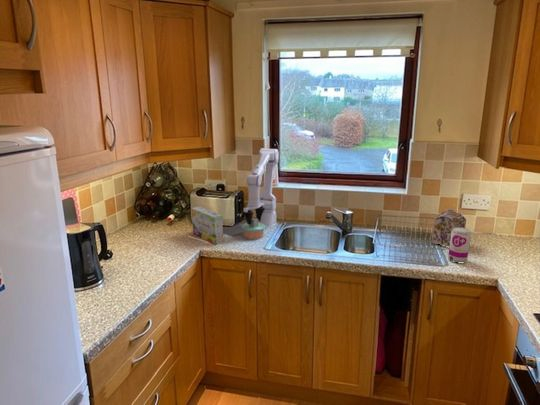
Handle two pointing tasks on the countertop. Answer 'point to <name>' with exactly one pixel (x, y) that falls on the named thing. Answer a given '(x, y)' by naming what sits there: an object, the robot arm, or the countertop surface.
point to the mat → (233, 230)
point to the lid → (253, 226)
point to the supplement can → (459, 245)
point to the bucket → (254, 234)
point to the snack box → (207, 225)
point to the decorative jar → (446, 226)
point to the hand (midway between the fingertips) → (254, 222)
